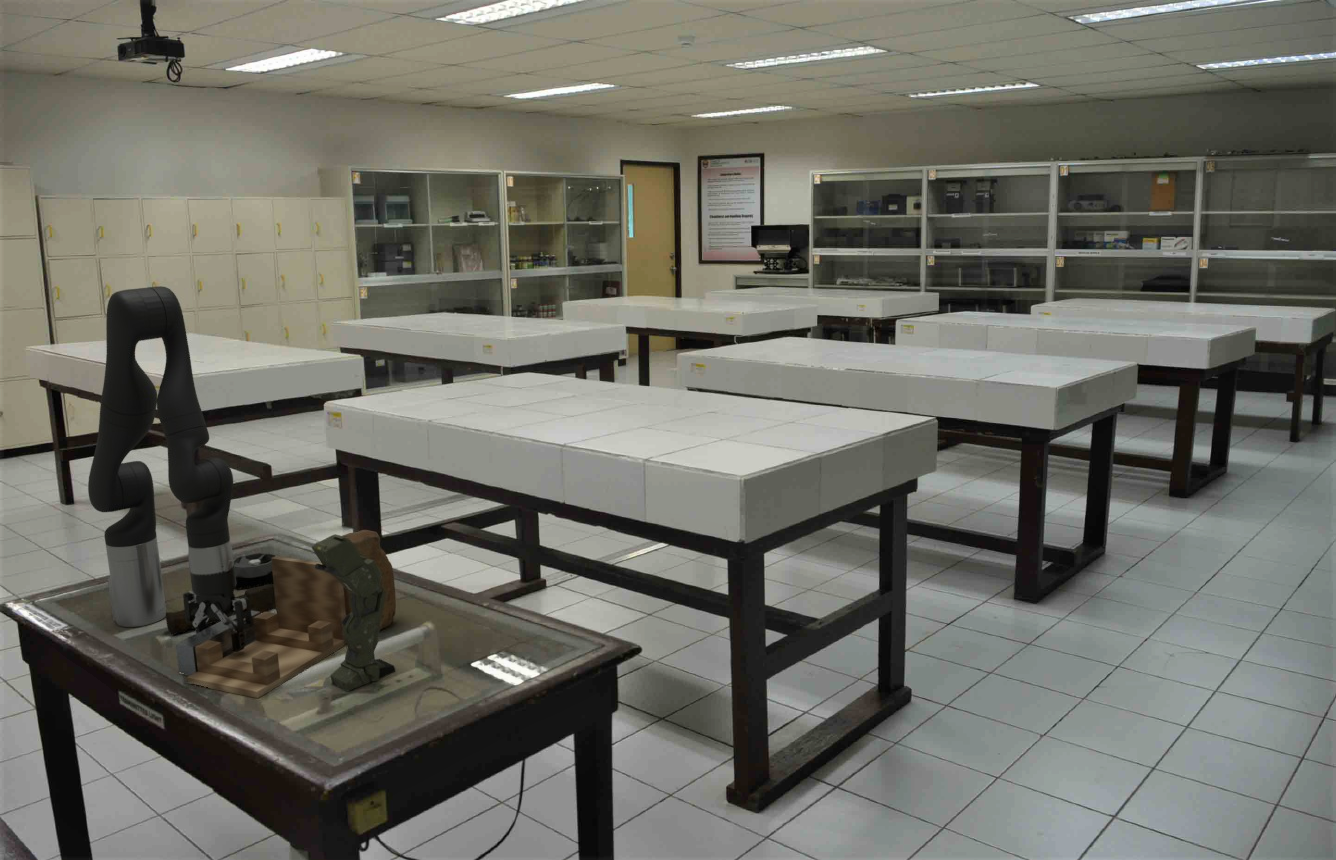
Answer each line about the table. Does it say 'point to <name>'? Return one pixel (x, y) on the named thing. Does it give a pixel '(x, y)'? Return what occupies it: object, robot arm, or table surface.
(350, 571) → the mechanical leg
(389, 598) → the brown rounded piece
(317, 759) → the table surface
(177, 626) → the dark brown bar
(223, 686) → the post cradle
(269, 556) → the cpu cooler
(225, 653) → the rail
